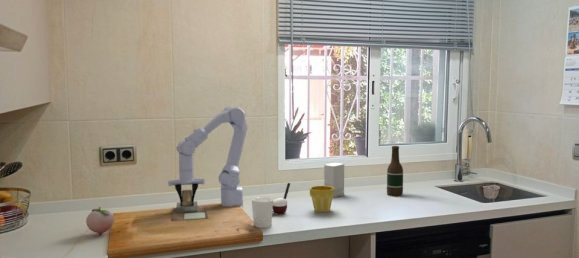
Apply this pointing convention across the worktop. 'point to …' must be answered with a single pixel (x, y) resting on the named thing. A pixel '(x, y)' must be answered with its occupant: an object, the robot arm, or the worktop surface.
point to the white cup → (262, 212)
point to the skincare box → (334, 177)
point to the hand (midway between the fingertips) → (187, 201)
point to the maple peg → (186, 197)
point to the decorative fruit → (100, 221)
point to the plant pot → (322, 197)
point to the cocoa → (281, 203)
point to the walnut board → (180, 216)
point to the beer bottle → (395, 175)
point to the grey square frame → (186, 208)
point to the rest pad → (194, 216)
